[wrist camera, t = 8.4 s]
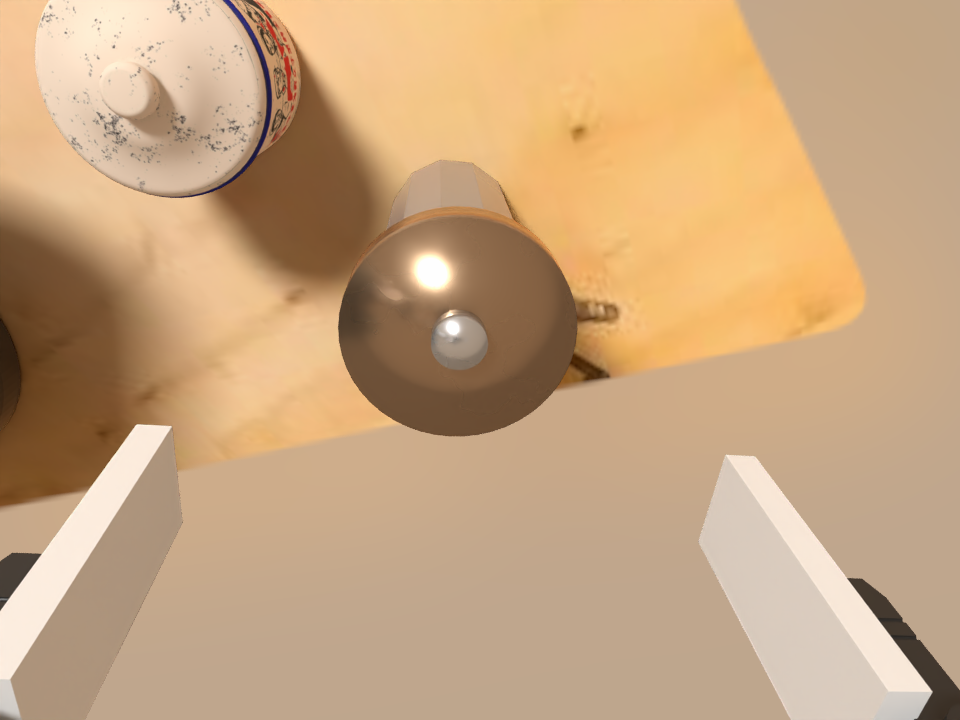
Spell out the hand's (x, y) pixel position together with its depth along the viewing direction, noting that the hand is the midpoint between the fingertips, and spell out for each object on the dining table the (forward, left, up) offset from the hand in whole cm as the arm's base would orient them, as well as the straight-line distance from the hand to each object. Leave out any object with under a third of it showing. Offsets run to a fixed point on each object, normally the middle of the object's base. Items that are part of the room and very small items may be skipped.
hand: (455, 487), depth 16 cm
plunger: (0, 0, -23) cm, 23 cm away
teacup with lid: (-13, +8, -26) cm, 30 cm away
